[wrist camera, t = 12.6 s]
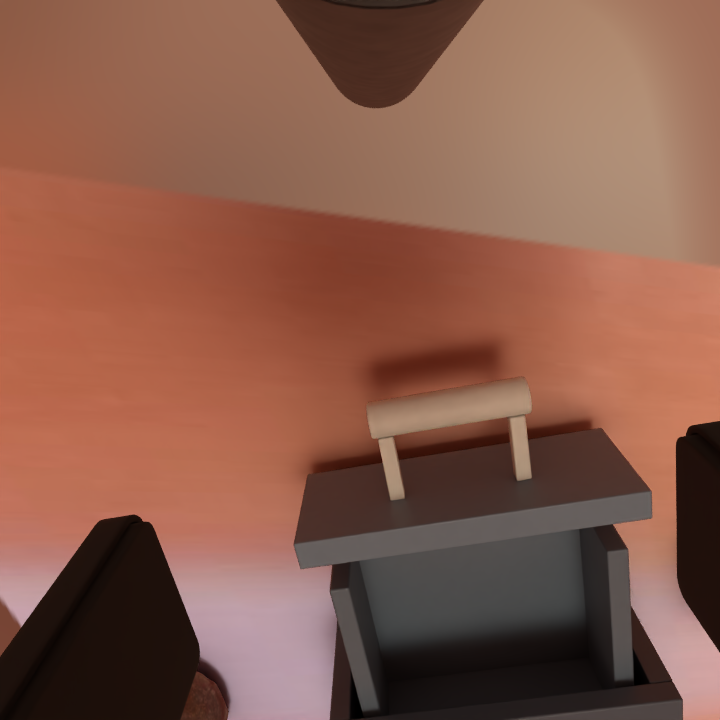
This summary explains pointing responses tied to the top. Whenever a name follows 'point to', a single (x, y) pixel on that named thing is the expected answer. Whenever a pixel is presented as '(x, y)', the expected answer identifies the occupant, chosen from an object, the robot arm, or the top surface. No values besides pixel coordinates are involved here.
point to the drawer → (477, 558)
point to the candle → (204, 701)
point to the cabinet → (542, 714)
